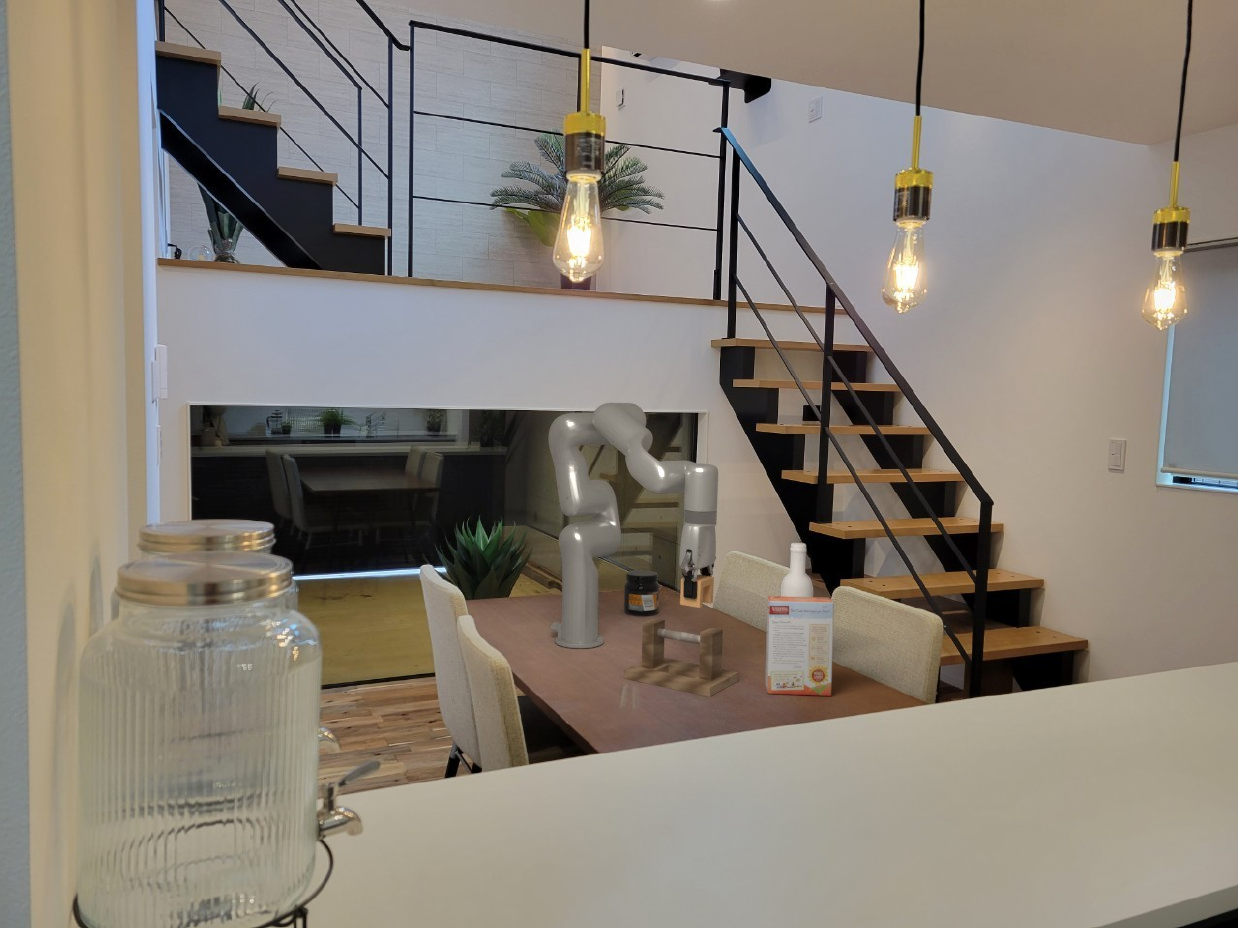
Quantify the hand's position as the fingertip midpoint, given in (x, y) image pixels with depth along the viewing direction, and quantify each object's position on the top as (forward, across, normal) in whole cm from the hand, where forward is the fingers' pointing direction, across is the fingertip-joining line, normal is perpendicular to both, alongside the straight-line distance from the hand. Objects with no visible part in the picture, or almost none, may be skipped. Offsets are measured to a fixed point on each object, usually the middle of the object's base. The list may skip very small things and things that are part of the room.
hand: (697, 594), depth 209 cm
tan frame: (+19, +4, -2) cm, 20 cm away
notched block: (+2, 0, 0) cm, 2 cm away
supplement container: (+20, -49, -42) cm, 68 cm away
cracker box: (+19, -4, +23) cm, 31 cm away
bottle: (+20, -22, +16) cm, 33 cm away
